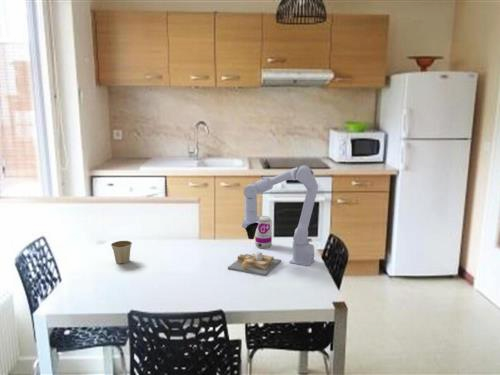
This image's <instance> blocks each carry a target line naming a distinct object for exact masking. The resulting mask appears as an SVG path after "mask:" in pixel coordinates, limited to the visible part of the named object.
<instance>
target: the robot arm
mask: <svg viewBox="0 0 500 375" xmlns="http://www.w3.org/2000/svg"><path fill="white" fill-rule="evenodd" d="M288 180H293V181H298V182H299V183H301V184H302V185H303V186H304V187H305V189H306V193H305V197H304V201H303V205H302V210H301V213H300V218H299V221H298V224H297V227H296V228H295V230H294V235H293V236H292V237H293V238H292V240H293V241H292V259H291V260H290V261H289V263H290V264H295V265H302V266H306V267H307V266H308V267H309V266H311V265H312V264H313V263H314V261H315V245H314V244H311V243H310V240H308V235H309V226H310V222H311V218H312V214H313V209H314V206H315V201H316V198H317V195H318V194H317V193H318V191H319V184H318V182H317V180H316V177H315V173H314V170H312V168H311V167H309V165H306V164H303V165H300V166H299V167H298V166H297V167H293V168H290V169H288V170H286V171H284V172H282V173H280V174H278V175H275V176H273V177H269V176H268V177H265V176H262V177H261V179H258V180H257V181H253V182H251V183H249V184H247V185H246V187H244V189H243V195H244V218H242V221H243V222H242V223H241V228H244V229H245V231H246V235H247V237H248V240H254V239H255V232H256V229H257V227H258V225H259V223H256V222H258V220H260V215H258V199H257V198H258V195H261V194H263V193H265V192H268V191H270V190H272V189H273V187H274V185H277V184H279V183H282V182H283V183H284V182H285V181H288Z"/></svg>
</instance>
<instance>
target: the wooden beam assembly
mask: <svg viewBox="0 0 500 375" xmlns="http://www.w3.org/2000/svg"><path fill="white" fill-rule="evenodd" d="M250 255H251V256H247V255H245V254H239V255H237V260H238V262H246V266H247V267H253V268H258V269H264V270H265V269H266V268H267V267H268V266H269V265H271V264H272V263H273V262H274V259H275V256H271V255H265V254H262V261H258V260H256V253H252V254H250Z"/></svg>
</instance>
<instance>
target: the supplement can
mask: <svg viewBox="0 0 500 375" xmlns="http://www.w3.org/2000/svg"><path fill="white" fill-rule="evenodd" d="M259 216H260V215H259ZM256 223H259V225H258V227H257V229H256V232H255V237H254V239H255V241H254V242H255V244H254V245H255V247H257V248H258V249H269V248H271V246H272V245H273V244H272V243H273V242H272V240H273V237H272V236H273V235H272V234H273V232H272V231H273V227H272V225H273V224H272V218H271V217H270V216H268V215H261V216H260V220H258V222H256Z"/></svg>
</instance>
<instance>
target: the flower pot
mask: <svg viewBox="0 0 500 375" xmlns="http://www.w3.org/2000/svg"><path fill="white" fill-rule="evenodd" d="M132 245H133V242H132V241H130V240H118V241H114V242H112V243H111V244H110V246H111V249H112V251H113V257H114V260H115V263H116V264H119V265H121V264H127V263H129V262H130V260H131V248H132Z"/></svg>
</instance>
